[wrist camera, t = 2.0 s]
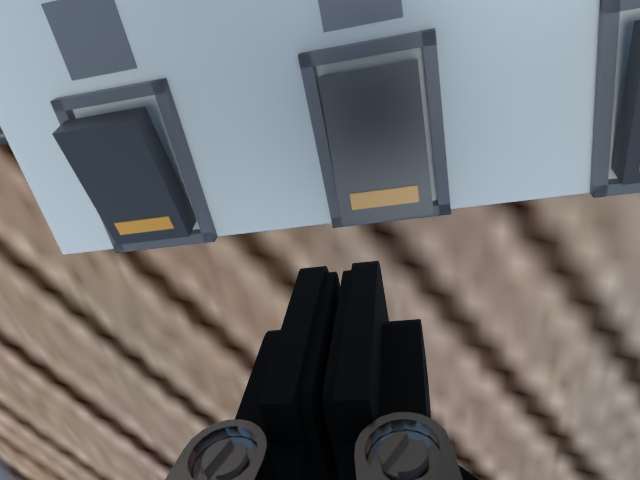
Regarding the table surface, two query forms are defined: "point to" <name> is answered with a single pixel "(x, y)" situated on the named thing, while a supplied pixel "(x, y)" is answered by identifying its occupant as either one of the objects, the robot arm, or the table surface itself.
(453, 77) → the rocker switch panel
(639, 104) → the rocker
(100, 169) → the rocker
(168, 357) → the table surface
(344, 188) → the rocker middle
